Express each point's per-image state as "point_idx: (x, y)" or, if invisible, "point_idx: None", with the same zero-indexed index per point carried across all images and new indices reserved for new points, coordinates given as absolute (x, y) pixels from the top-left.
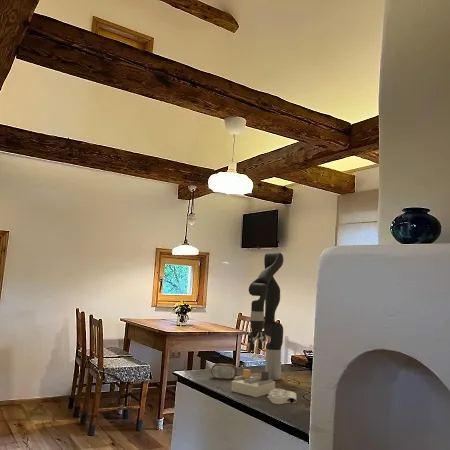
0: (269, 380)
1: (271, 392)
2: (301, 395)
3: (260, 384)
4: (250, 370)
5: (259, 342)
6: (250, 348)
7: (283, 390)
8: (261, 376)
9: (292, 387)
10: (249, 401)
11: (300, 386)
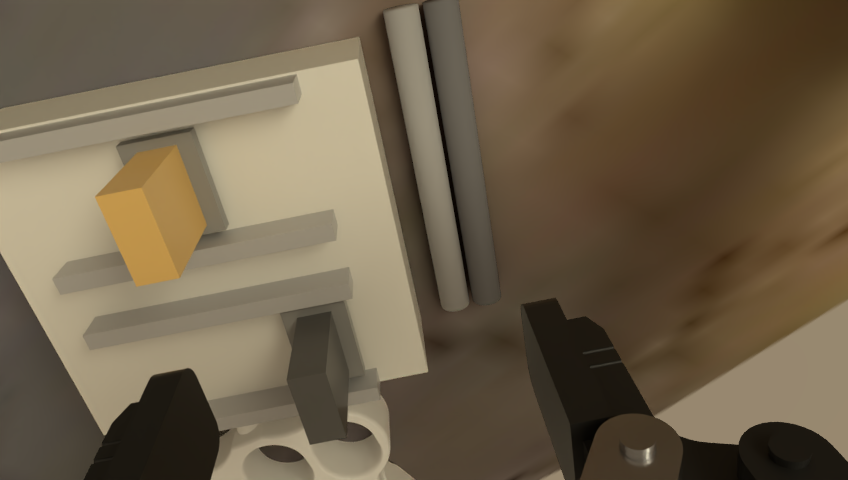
0: None
1: (219, 477)
2: (509, 470)
3: None
4: (175, 276)
5: (579, 452)
6: (114, 434)
7: (379, 457)
8: (293, 339)
9: (677, 290)
10: (3, 427)
11: (769, 298)
